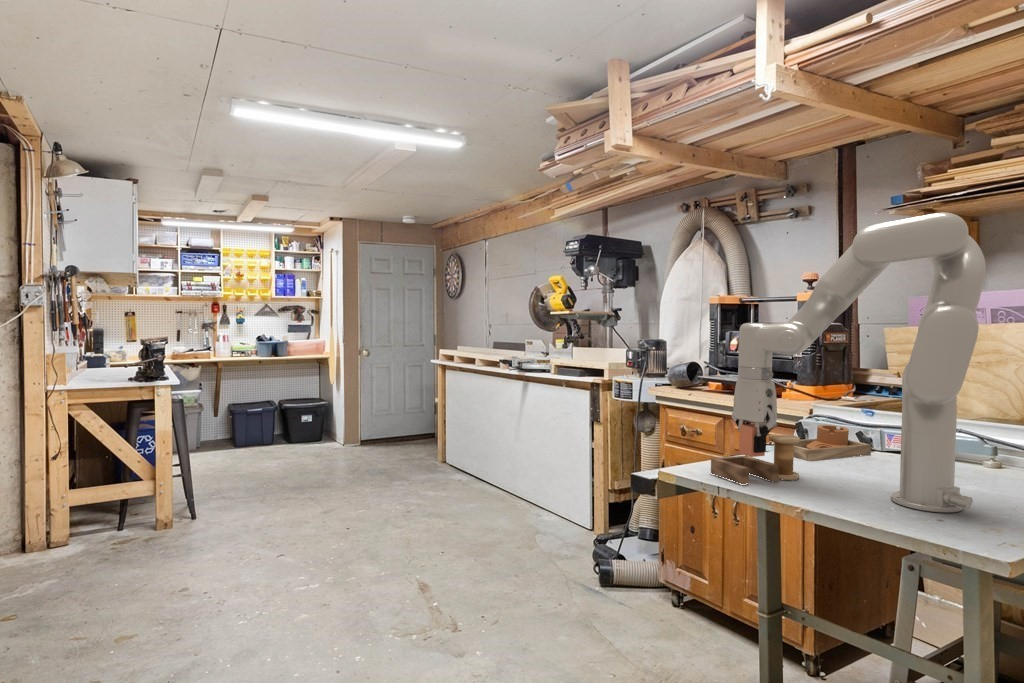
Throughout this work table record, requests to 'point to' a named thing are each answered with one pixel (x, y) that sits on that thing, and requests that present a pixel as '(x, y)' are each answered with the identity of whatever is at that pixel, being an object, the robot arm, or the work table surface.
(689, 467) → the work table surface
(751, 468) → the notched board
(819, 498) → the work table surface
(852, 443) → the frame
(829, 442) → the bracket
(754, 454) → the tab
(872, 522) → the work table surface
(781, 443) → the spool
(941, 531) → the work table surface
